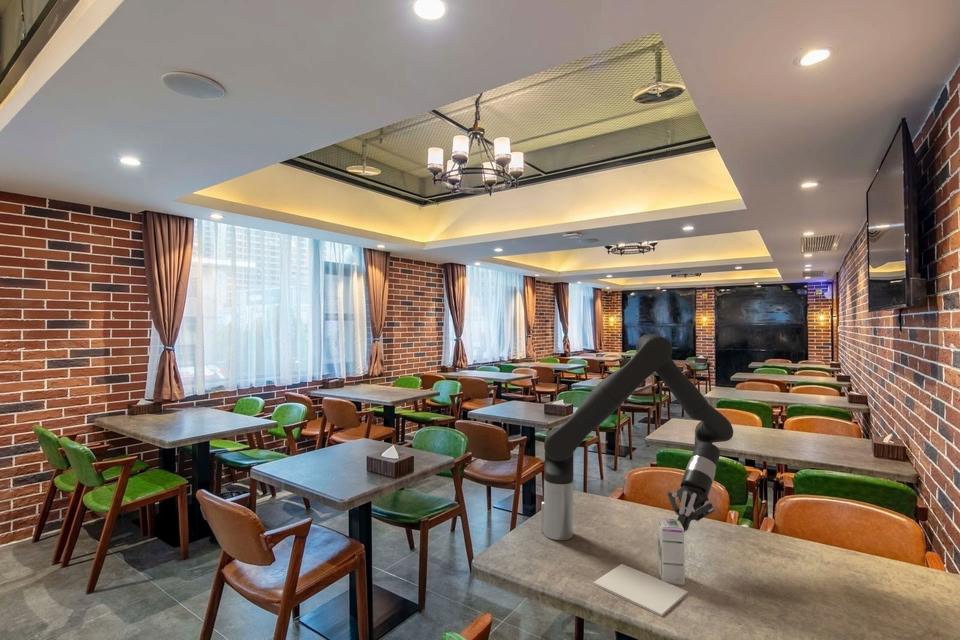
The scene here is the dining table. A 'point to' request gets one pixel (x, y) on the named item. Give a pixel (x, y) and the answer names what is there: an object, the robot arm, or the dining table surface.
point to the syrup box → (671, 551)
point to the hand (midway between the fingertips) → (680, 530)
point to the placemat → (641, 589)
